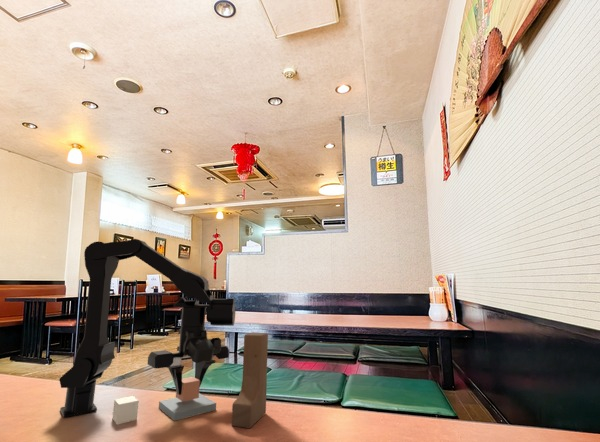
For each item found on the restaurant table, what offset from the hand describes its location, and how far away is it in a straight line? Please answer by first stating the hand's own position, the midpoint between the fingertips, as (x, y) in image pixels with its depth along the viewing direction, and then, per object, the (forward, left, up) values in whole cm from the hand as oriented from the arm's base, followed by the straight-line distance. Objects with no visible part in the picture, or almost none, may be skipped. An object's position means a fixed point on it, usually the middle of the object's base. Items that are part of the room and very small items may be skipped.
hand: (188, 392), depth 79 cm
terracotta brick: (0, 0, -1) cm, 1 cm away
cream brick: (-3, -13, -4) cm, 14 cm away
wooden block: (+15, +8, -4) cm, 17 cm away
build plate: (0, 0, -4) cm, 4 cm away
